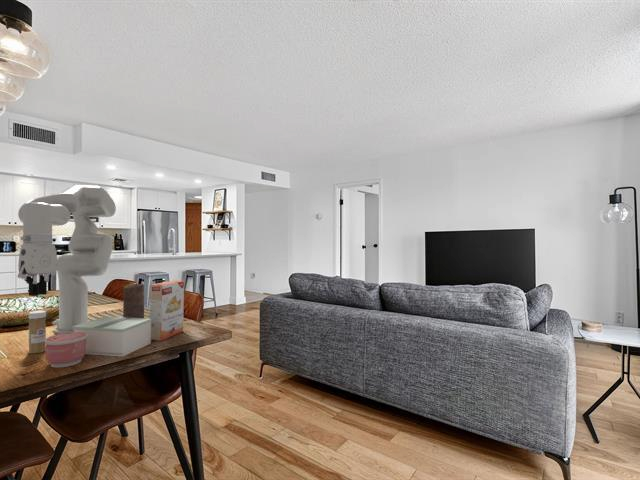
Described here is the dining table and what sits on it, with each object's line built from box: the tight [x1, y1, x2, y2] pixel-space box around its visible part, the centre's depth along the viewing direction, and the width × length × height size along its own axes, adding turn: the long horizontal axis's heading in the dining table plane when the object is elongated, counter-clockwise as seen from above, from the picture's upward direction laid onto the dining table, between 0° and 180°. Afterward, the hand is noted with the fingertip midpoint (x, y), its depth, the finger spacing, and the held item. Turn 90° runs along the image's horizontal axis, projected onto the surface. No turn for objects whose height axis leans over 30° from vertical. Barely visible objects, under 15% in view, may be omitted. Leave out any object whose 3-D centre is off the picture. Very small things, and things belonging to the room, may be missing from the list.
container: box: [45, 332, 87, 368], centre depth 105 cm, size 10×10×8 cm
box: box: [74, 322, 152, 358], centre depth 119 cm, size 18×14×8 cm
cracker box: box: [148, 280, 185, 342], centre depth 134 cm, size 14×6×21 cm, turn 168°
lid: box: [72, 316, 152, 332], centre depth 119 cm, size 19×14×1 cm
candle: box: [122, 283, 145, 318], centre depth 135 cm, size 8×7×20 cm
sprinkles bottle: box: [28, 310, 47, 355], centre depth 115 cm, size 5×5×14 cm
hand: (37, 294), depth 115 cm, fingers closed
